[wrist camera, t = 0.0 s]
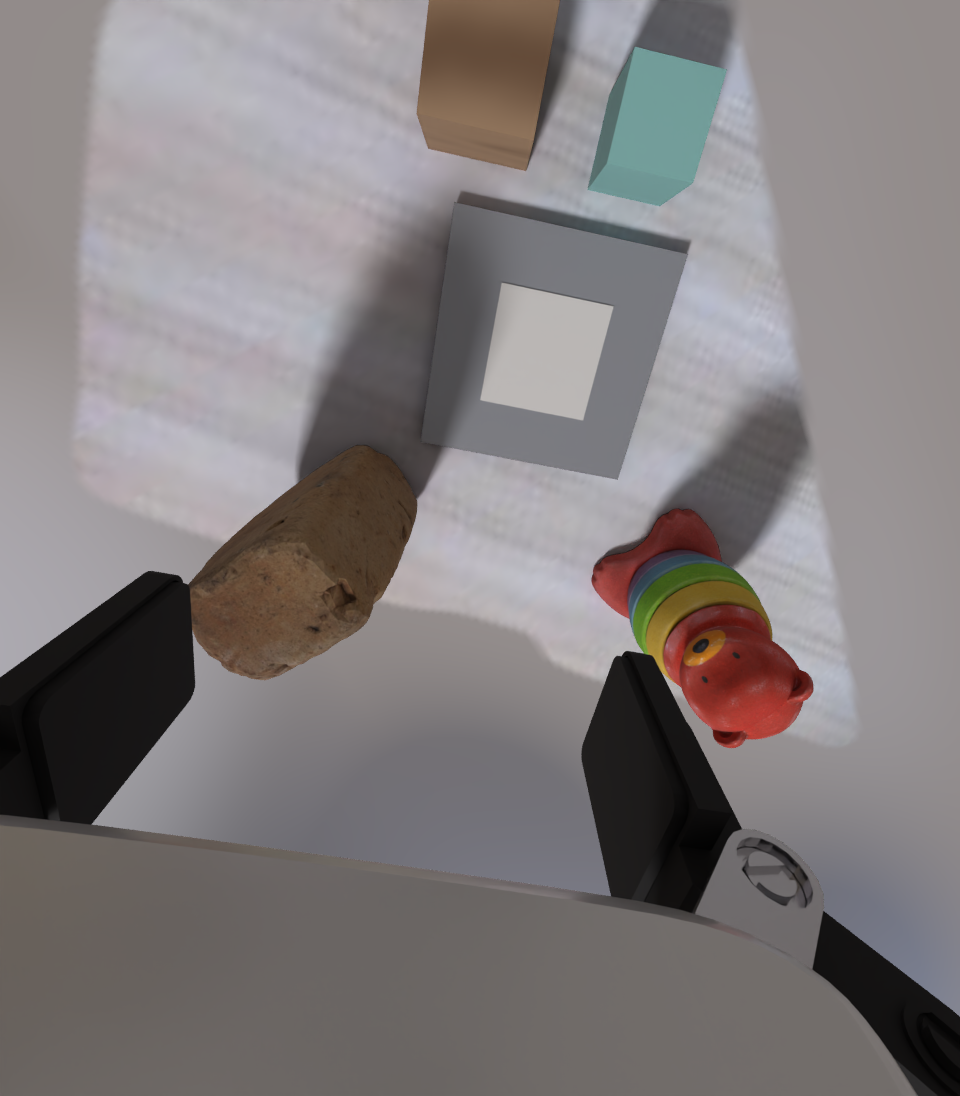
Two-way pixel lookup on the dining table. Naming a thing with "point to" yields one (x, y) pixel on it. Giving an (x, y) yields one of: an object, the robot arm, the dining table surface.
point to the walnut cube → (485, 77)
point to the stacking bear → (705, 630)
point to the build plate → (545, 340)
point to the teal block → (655, 127)
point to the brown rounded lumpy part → (305, 567)
